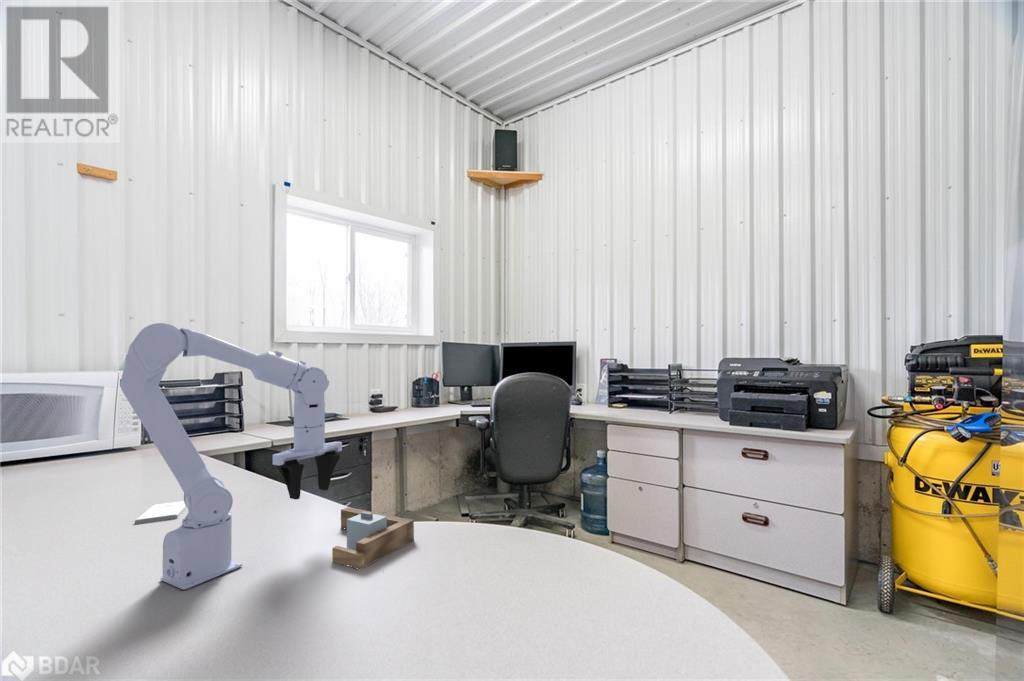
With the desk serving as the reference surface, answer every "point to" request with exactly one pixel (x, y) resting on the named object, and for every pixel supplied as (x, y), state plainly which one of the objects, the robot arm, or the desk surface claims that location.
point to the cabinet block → (363, 527)
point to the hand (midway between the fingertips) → (309, 493)
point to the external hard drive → (162, 512)
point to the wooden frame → (373, 540)
